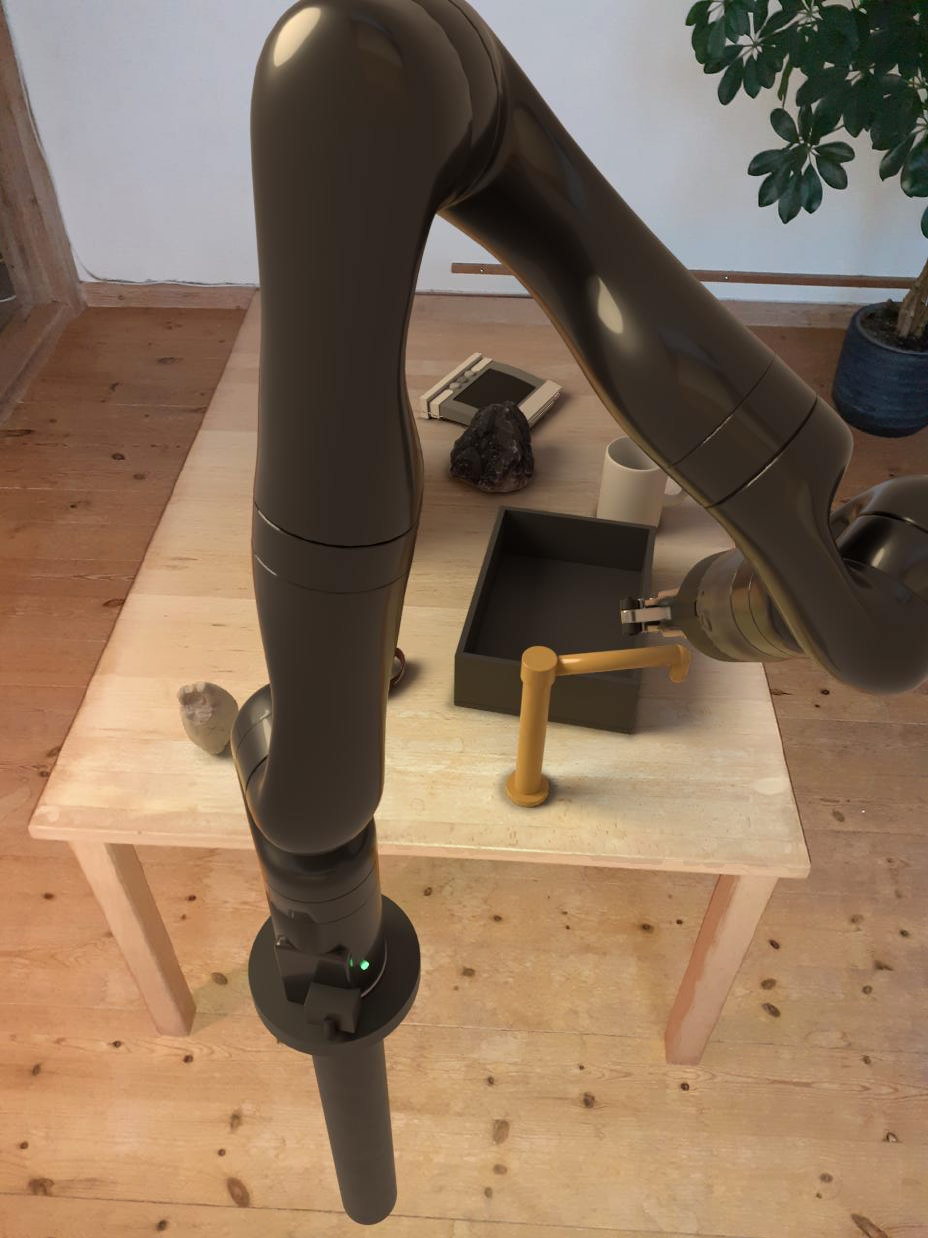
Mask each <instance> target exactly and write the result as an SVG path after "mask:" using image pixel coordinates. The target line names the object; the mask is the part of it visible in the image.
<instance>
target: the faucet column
mask: <svg viewBox="0 0 928 1238" xmlns="http://www.w3.org/2000/svg"><path fill="white" fill-rule="evenodd" d="M550 694H551V686H550V687H548V688H544V689H534V688H531V687H528V686H527V685H525V684H524V683H523V691H522V703H521V715H520V716H519V717H520V718H519V727H518V728H519V729H518V738H517V750H516V751H517V753H516V761H515V762H516V764H515V770H514V771H512V772H511V773H510V774H509V775H508V777H507V778H506V781H505V793H506V796H507V797H508V799H509V800H510V801H511V802H512V803H514V804H515V805H517V806H519V807H526V808H531V807H537V806H539V805H540V804H542V803H543V802H544V801H545V800H547V797H548V795H549V790H550V784H549V781H548V779H547V777H546V776H545V775H544V774H543V763H544V756H545V746H546V737H547V730H548V729H547V727H548V721H547V720H548V711H549V702H550Z"/></svg>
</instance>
